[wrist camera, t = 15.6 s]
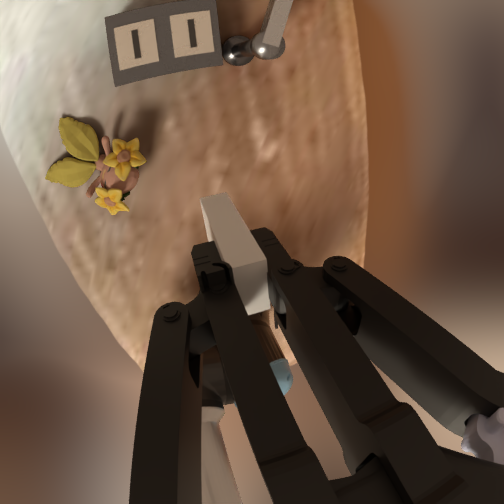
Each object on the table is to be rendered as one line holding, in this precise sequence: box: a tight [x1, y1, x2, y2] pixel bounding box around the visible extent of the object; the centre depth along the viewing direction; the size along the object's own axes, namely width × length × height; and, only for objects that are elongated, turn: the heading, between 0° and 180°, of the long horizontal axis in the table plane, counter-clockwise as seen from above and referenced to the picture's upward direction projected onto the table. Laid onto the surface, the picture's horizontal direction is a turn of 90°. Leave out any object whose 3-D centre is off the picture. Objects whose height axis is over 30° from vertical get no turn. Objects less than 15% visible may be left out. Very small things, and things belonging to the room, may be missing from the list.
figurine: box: [45, 117, 147, 215], centre depth 40 cm, size 12×9×15 cm
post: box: [222, 36, 254, 66], centre depth 35 cm, size 5×5×11 cm
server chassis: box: [105, 0, 223, 87], centre depth 32 cm, size 10×14×8 cm
